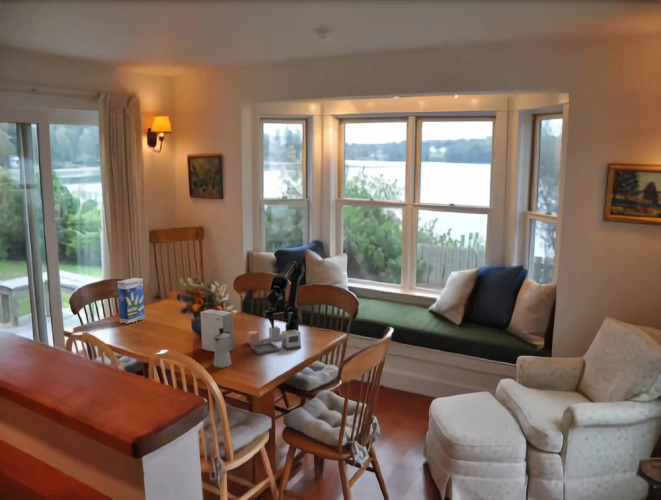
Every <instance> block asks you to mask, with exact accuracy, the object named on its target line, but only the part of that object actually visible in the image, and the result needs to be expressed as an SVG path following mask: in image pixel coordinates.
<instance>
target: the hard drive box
mask: <svg viewBox="0 0 661 500" xmlns="http://www.w3.org/2000/svg"><path fill="white" fill-rule="evenodd" d="M199 314H200V331H201V332H200V336H201V337H200V338H201V349H202V350H203V351H204V350H205V351H210V352H214V353H215V351H216V350H215V349H214V343H213V335H215V334H218V333H220V332H219V328H224V330H223V332H224V331H225V332H227V331H228V332H230V335H231V336H230V342H229V349H228V350H229V352H231V351H233V350H234V333H233V331H234V330H233V312H230V311H225V310H224V311H223V310H218V309H217V310H216V309H211V308H210V309H206V310H204V311H200V313H199Z"/></svg>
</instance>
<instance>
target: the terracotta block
mask: <svg viewBox="0 0 661 500" xmlns="http://www.w3.org/2000/svg"><path fill="white" fill-rule="evenodd" d="M259 336H260V335H259V332H258V331H256V330H251V331H247V343H248V344H249V345H250V346H251V345H255V344H260V340H259V339H260V337H259Z"/></svg>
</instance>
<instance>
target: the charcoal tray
mask: <svg viewBox="0 0 661 500" xmlns="http://www.w3.org/2000/svg"><path fill="white" fill-rule="evenodd" d="M250 349H251V350H252V351H254V352H255V354H257V355H258V356H261V355H267V354H274V353H279V352H280V348H279V347H278V346H277V345H276V344H274V343H273V342H272V341H270V342H269V341H268V342H263V343H259V344H254V345H250Z"/></svg>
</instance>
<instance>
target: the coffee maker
mask: <svg viewBox="0 0 661 500" xmlns="http://www.w3.org/2000/svg"><path fill="white" fill-rule="evenodd" d="M223 330H224V328H219V332H220V333H218V334H215V335H213V343H214V349H215V350H216V351H215V352H214V357H213V367H215V368H218V367H219V369H220V368H221V369H222V368H223V369H224V368H229V367H230V366H231V365H232V360H231V355H230V351H229V350H228V349H229V342H230V336H231V335H230V332H228V331H227V332H225V331H224V332H223Z"/></svg>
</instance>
